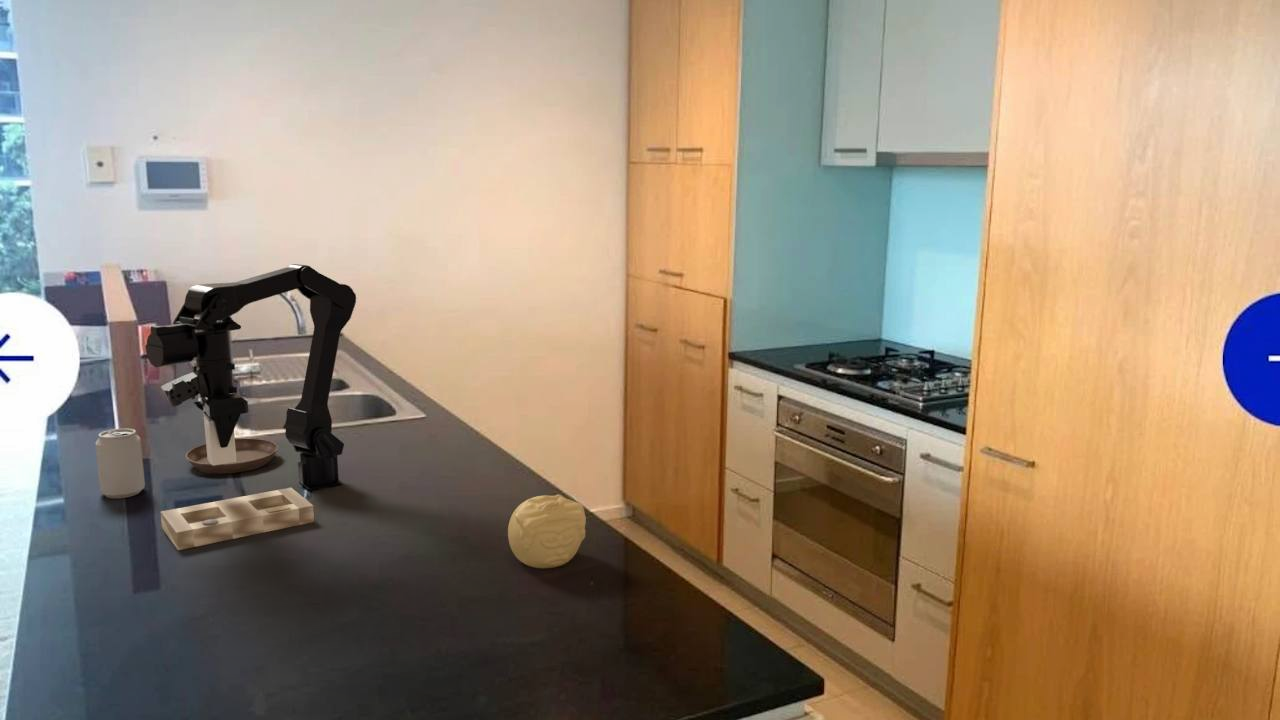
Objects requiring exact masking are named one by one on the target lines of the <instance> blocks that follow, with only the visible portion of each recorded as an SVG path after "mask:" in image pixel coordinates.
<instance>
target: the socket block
mask: <svg viewBox="0 0 1280 720" xmlns="http://www.w3.org/2000/svg"><path fill="white" fill-rule="evenodd" d="M160 519H161V521H160V523H161V529H162V530H163V532H164V533H165V535H166V536H167V537H168V538H169V540H170V541H171V543H172V544H173V545H174V547H175V548H176V550H177V551H181V550H185V549H190V548H194V547H200V546H205V545H210V544H215V543H218V542H219V543H220V542H223V541H224V542H225V541H228V540H234V539H238V538H243V537H249V536H253V535H258V534H262V533H263V534H264V533H266V532H271V531H277V530H282V529H287V528H292V527H296V526H301V525H307V524H311V523H314V522H315V516H314V505H313V504H312V503H310V502H309V501H308V500H307V499H306V498H305V497H304V496H302V495H301V494H300V493H298V492H297V491H296V490H295V489H294V488H293V487H287V488H281V489H276V490H270V491H264V492H259V493H254V494H253V493H252V494H249V495H244V496H238V497H231V498H227V499H220V500H217V501H212V502H205V503H200V504H195V505H190V506H184V507H179V508H178V507H177V508H173V509H167V510H162V511H160Z"/></svg>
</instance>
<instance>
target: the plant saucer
mask: <svg viewBox="0 0 1280 720" xmlns="http://www.w3.org/2000/svg"><path fill="white" fill-rule="evenodd" d="M235 448H236V460H237V462H232V463H226V464H220V465H213V466H212V464H211V463H210V462H209V461H208V459H207V448H206V443H204V444H201V445H198V446H196V447H194V448H192V449H190V450H189V451H188V452H186V453H185V458H186V460H187V461H188V462H189V463H190V464H191V465H192V466H193V467H194V468H196V469H197V470H198V471H201V472H203V473H208V474H234V473H236V474H237V473H241V472H247V471H252V470H255V469H258V468H260V467H263V466H265V465H266V464H268V463H269V462H270V461H271V460H272V459H273V457H274V456H275V455H276V453H277V451H278V449H279V446H278V445H277V443H275V442H274V441H271V440H268V439H267V440H266V439H260V438H235Z"/></svg>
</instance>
